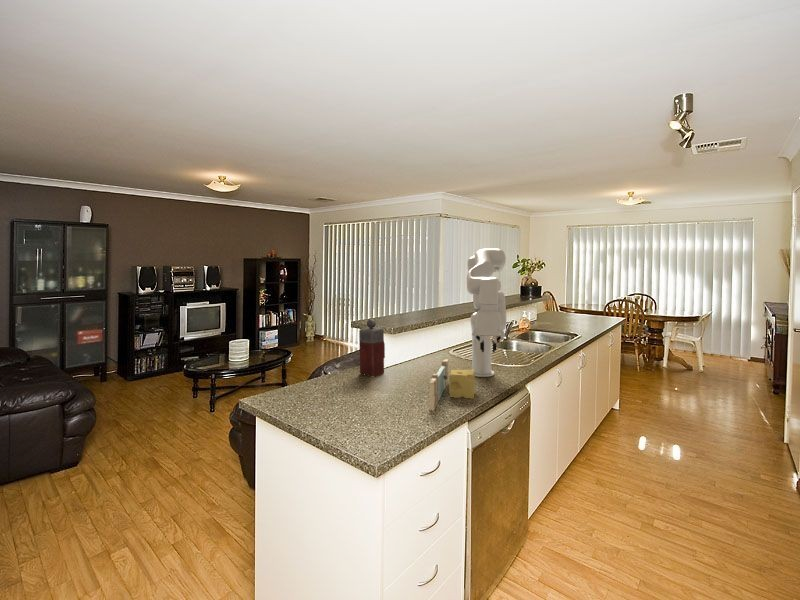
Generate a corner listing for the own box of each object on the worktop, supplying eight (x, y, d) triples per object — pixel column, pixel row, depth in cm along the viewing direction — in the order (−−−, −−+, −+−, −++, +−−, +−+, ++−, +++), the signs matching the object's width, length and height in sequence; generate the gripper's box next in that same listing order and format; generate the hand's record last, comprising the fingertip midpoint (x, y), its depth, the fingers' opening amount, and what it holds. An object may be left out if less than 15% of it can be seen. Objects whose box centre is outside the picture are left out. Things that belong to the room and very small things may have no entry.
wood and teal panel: (444, 382, 203) (444, 357, 202) (448, 382, 202) (448, 357, 201) (429, 410, 164) (428, 379, 163) (434, 410, 164) (434, 380, 163)
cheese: (474, 399, 177) (474, 375, 176) (448, 398, 179) (448, 374, 179) (474, 391, 187) (475, 369, 187) (450, 390, 190) (450, 368, 189)
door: (440, 402, 173) (440, 377, 172) (431, 401, 174) (431, 377, 173) (447, 387, 192) (447, 366, 191) (439, 387, 193) (439, 365, 192)
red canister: (387, 372, 222) (386, 318, 220) (373, 377, 213) (372, 321, 211) (374, 369, 228) (373, 317, 225) (359, 374, 219) (358, 319, 216)
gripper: (467, 308, 176) (467, 352, 177) (509, 309, 172) (508, 354, 173) (469, 306, 183) (469, 349, 185) (509, 307, 179) (509, 350, 181)
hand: (488, 351), depth 179 cm, fingers open, 3 cm apart
